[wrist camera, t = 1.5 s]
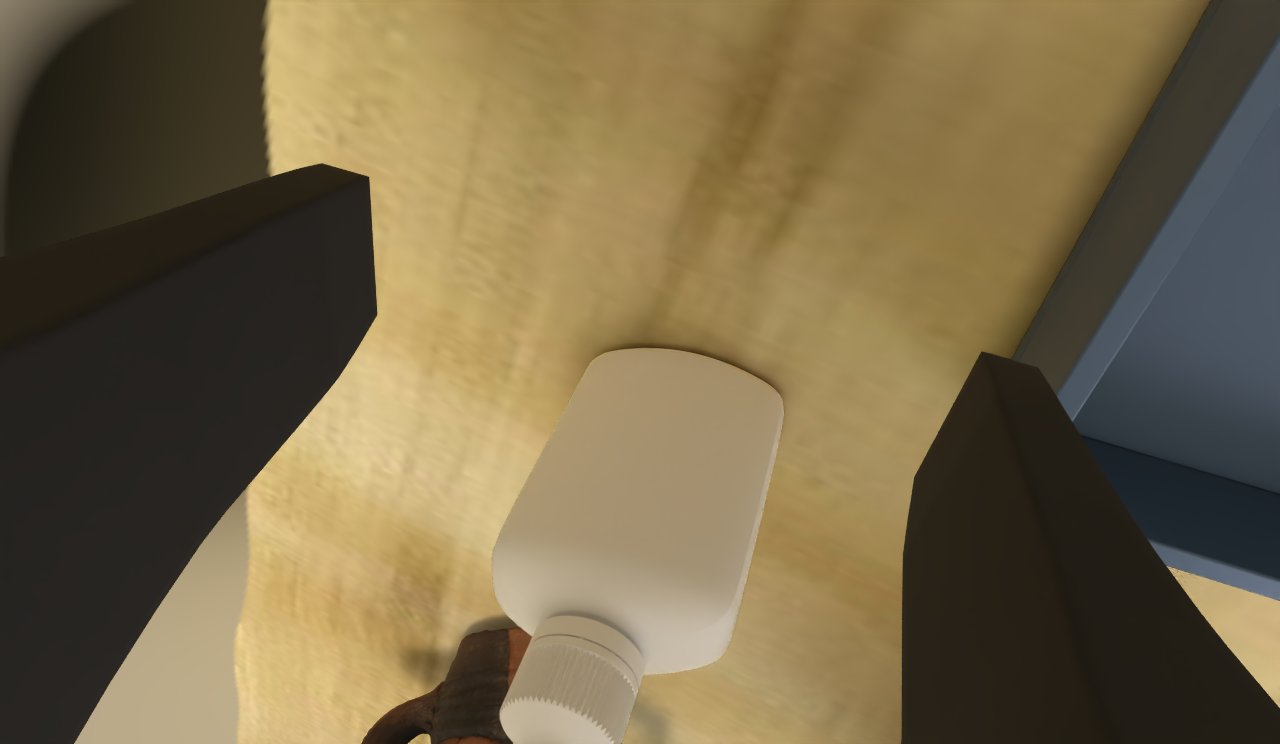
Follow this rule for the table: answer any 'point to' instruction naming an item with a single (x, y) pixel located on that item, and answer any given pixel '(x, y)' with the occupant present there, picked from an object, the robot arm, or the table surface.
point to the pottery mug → (461, 696)
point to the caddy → (1186, 310)
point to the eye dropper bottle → (632, 537)
